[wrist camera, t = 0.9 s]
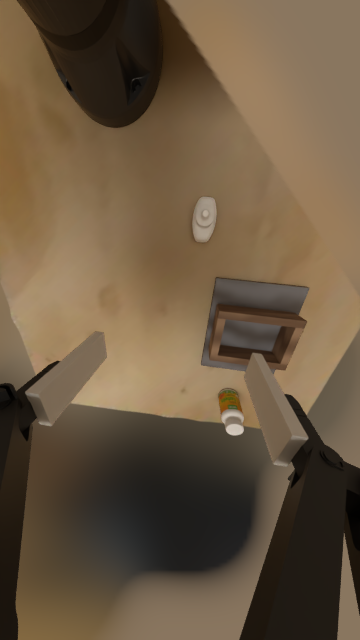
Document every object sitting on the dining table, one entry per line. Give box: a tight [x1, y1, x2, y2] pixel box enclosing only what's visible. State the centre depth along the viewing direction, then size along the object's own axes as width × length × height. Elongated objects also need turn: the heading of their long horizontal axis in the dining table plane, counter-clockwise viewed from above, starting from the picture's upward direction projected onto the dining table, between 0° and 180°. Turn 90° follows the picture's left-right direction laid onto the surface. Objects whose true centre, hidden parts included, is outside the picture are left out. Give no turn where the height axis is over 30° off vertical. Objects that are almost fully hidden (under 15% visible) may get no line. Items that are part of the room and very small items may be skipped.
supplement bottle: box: [219, 389, 244, 435], centre depth 42 cm, size 5×5×10 cm
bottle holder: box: [201, 278, 309, 375], centre depth 35 cm, size 22×18×6 cm
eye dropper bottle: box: [192, 197, 217, 243], centre depth 25 cm, size 4×6×12 cm
